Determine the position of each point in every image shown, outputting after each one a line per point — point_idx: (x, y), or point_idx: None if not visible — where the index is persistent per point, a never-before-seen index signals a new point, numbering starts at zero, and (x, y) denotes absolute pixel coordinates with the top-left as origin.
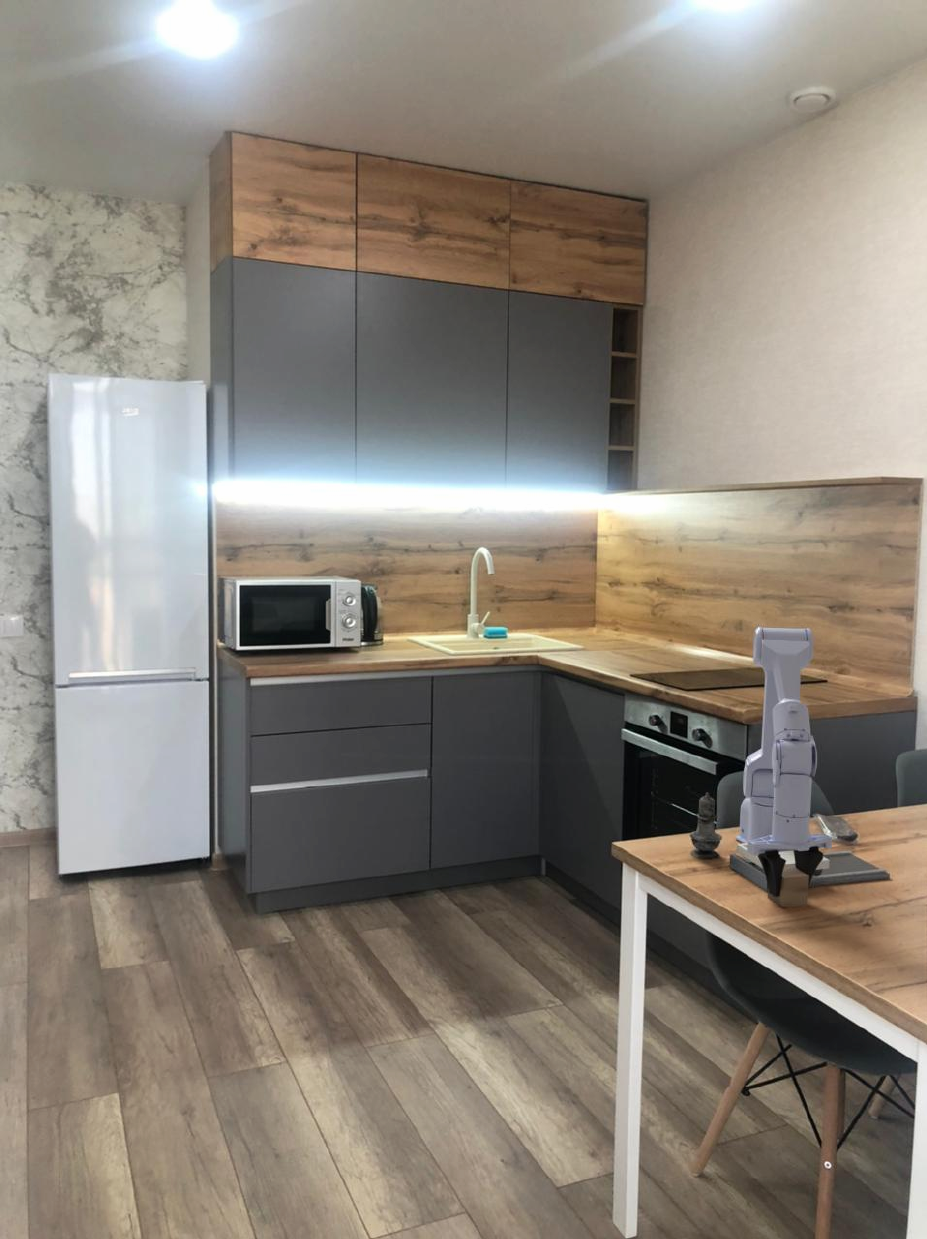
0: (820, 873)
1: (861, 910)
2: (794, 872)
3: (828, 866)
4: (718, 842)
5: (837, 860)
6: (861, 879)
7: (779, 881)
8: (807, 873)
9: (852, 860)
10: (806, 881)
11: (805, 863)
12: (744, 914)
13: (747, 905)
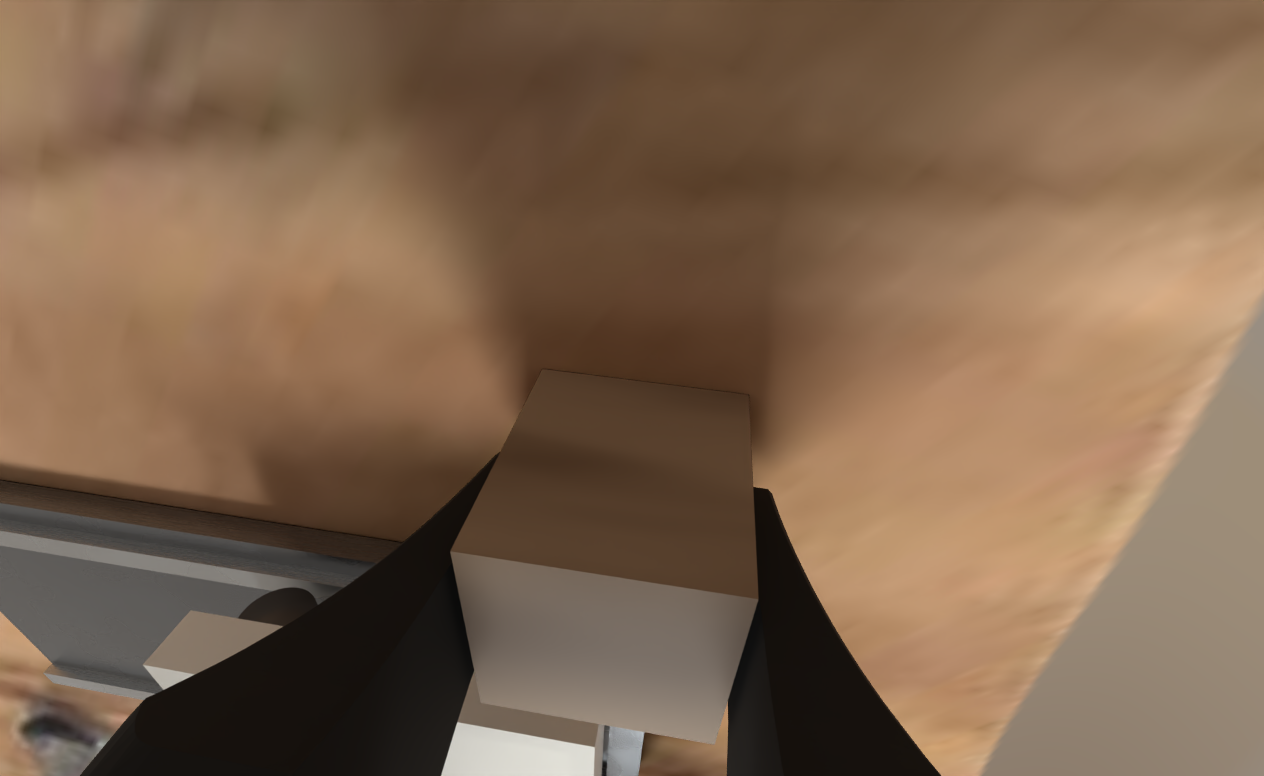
0: (266, 597)
1: (159, 148)
2: (548, 638)
3: (184, 623)
4: None
5: (132, 653)
6: (54, 500)
7: (774, 589)
8: (439, 584)
9: (60, 632)
10: (496, 508)
11: (403, 703)
12: (1139, 414)
13: (949, 507)
